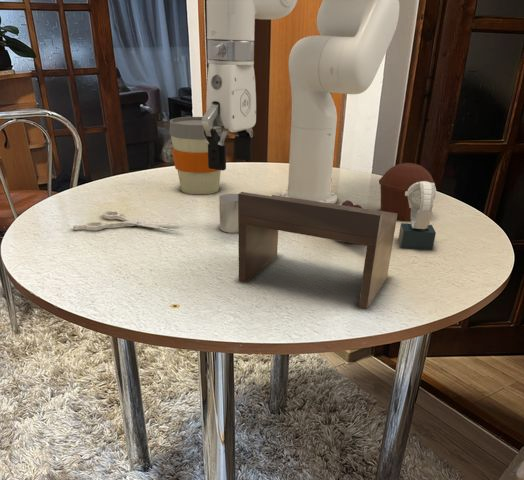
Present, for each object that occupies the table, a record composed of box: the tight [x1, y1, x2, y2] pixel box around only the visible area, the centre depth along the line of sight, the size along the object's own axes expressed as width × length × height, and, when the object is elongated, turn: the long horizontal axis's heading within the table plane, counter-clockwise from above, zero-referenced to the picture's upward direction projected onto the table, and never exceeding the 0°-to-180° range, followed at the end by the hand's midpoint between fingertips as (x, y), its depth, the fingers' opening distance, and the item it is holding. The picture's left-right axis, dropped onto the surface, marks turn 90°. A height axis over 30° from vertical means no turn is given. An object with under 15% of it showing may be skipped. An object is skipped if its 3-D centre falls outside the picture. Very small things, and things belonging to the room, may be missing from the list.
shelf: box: [237, 191, 397, 310], centre depth 75 cm, size 12×20×13 cm, turn 65°
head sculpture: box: [397, 181, 437, 251], centre depth 90 cm, size 6×8×11 cm
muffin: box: [378, 162, 436, 221], centre depth 105 cm, size 12×11×10 cm
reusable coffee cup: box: [168, 116, 222, 195], centre depth 117 cm, size 13×13×15 cm
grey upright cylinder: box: [218, 193, 239, 234], centre depth 96 cm, size 5×5×6 cm
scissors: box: [72, 210, 180, 233], centre depth 97 cm, size 11×1×20 cm
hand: (230, 164), depth 91 cm, fingers open, 9 cm apart
